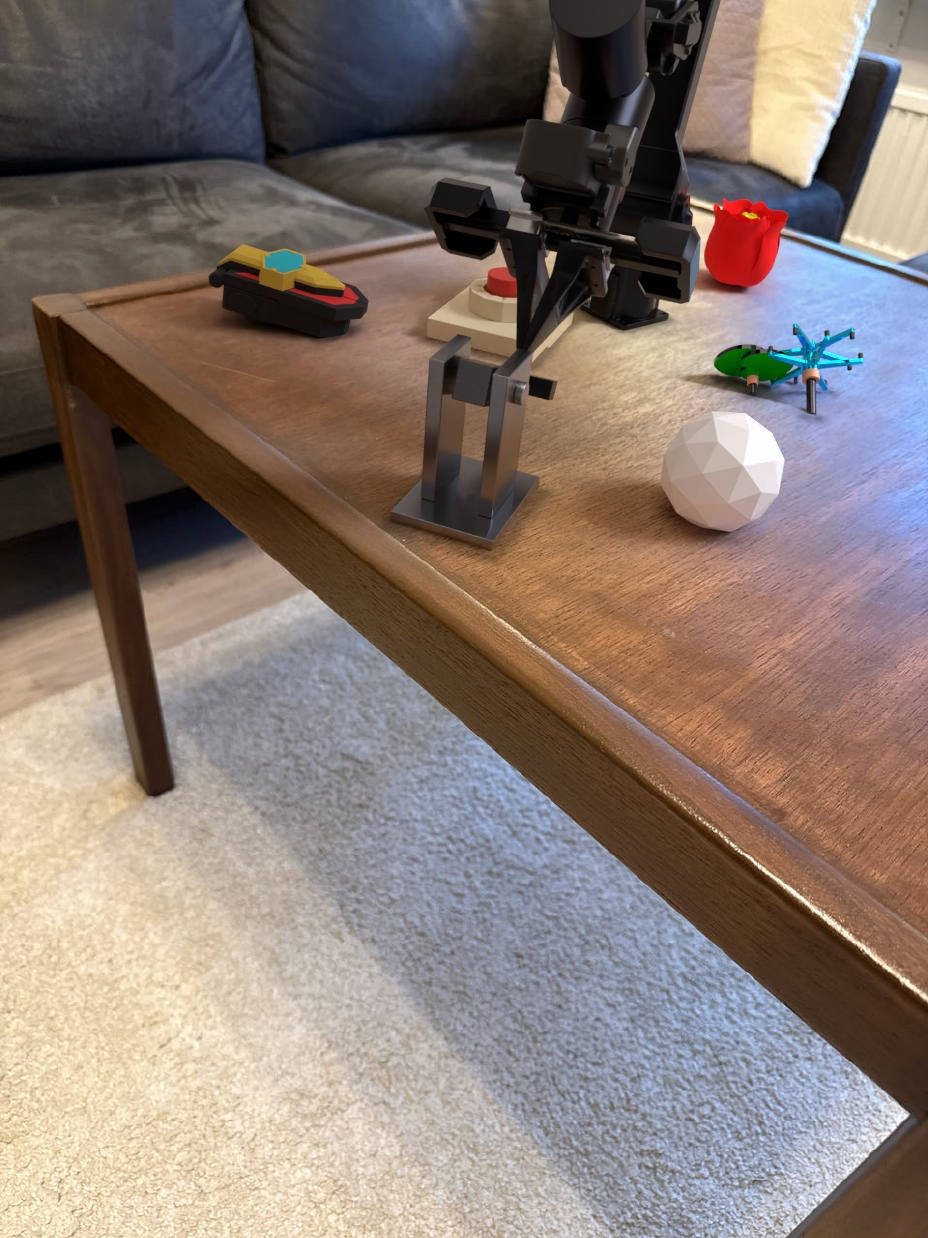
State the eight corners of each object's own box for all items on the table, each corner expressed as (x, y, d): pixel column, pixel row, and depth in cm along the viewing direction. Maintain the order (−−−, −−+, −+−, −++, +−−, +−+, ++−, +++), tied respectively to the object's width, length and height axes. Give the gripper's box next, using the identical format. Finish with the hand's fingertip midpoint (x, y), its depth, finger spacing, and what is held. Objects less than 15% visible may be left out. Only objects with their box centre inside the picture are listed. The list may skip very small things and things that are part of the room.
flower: (778, 284, 105) (800, 208, 100) (755, 302, 99) (777, 223, 94) (711, 266, 108) (729, 192, 103) (686, 283, 102) (703, 205, 97)
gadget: (348, 360, 83) (358, 299, 79) (204, 314, 83) (208, 251, 79) (368, 333, 88) (378, 275, 84) (232, 290, 88) (237, 230, 84)
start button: (494, 283, 87) (496, 263, 86) (531, 291, 86) (533, 272, 85) (480, 295, 84) (481, 275, 83) (517, 303, 84) (520, 283, 82)
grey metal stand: (445, 465, 67) (457, 317, 61) (537, 491, 66) (560, 342, 59) (390, 526, 61) (396, 367, 54) (491, 557, 59) (510, 397, 52)
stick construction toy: (859, 363, 83) (865, 309, 76) (861, 435, 80) (868, 385, 73) (717, 375, 86) (710, 324, 79) (715, 444, 84) (708, 398, 77)
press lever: (485, 390, 68) (492, 356, 67) (551, 407, 66) (559, 373, 66) (429, 392, 57) (437, 352, 57) (506, 413, 56) (515, 372, 55)
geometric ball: (699, 570, 65) (690, 519, 58) (649, 479, 68) (634, 421, 61) (804, 520, 64) (807, 462, 57) (748, 430, 67) (744, 365, 60)
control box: (475, 300, 93) (479, 259, 91) (572, 323, 91) (578, 281, 88) (425, 341, 84) (428, 297, 82) (531, 367, 82) (537, 322, 79)
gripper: (444, 41, 60) (362, 264, 59) (735, 86, 56) (653, 330, 54) (479, 151, 71) (410, 342, 70) (725, 198, 66) (656, 403, 65)
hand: (522, 353), depth 65 cm, fingers closed
